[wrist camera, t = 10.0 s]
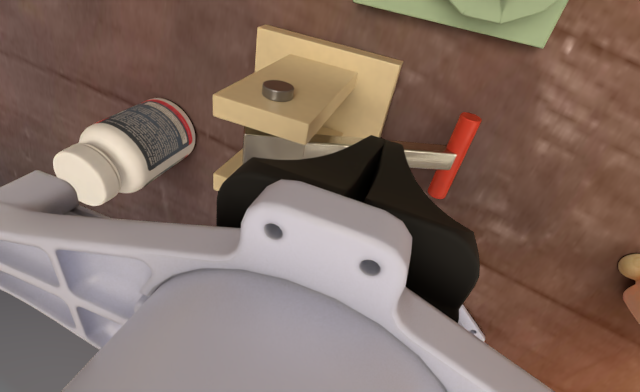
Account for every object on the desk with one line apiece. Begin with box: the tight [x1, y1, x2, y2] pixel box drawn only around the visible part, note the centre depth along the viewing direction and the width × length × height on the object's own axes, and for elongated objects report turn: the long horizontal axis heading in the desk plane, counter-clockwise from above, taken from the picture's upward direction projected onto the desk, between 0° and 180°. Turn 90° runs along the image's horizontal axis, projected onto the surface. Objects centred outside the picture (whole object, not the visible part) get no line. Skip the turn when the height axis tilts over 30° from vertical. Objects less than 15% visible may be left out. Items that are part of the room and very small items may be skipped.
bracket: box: [213, 25, 403, 191], centre depth 20 cm, size 9×7×10 cm
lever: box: [242, 113, 482, 199], centre depth 18 cm, size 12×5×2 cm, turn 79°
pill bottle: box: [53, 98, 195, 206], centre depth 26 cm, size 5×5×9 cm
